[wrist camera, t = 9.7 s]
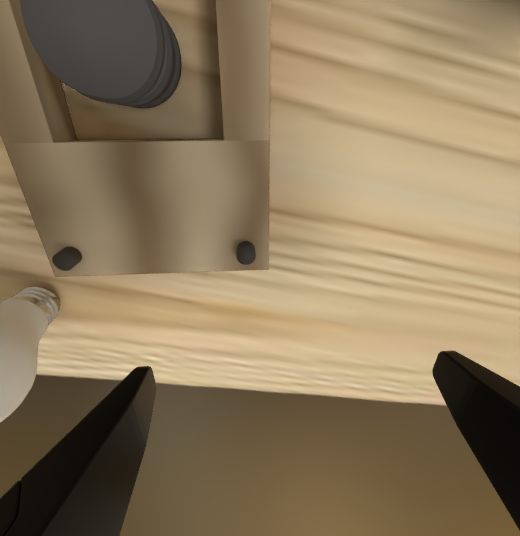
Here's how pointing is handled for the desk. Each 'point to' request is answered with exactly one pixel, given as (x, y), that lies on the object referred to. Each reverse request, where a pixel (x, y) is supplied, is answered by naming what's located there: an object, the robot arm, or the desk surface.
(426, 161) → the desk surface
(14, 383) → the light bulb
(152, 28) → the stacked grey discs
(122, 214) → the wooden handle frame
